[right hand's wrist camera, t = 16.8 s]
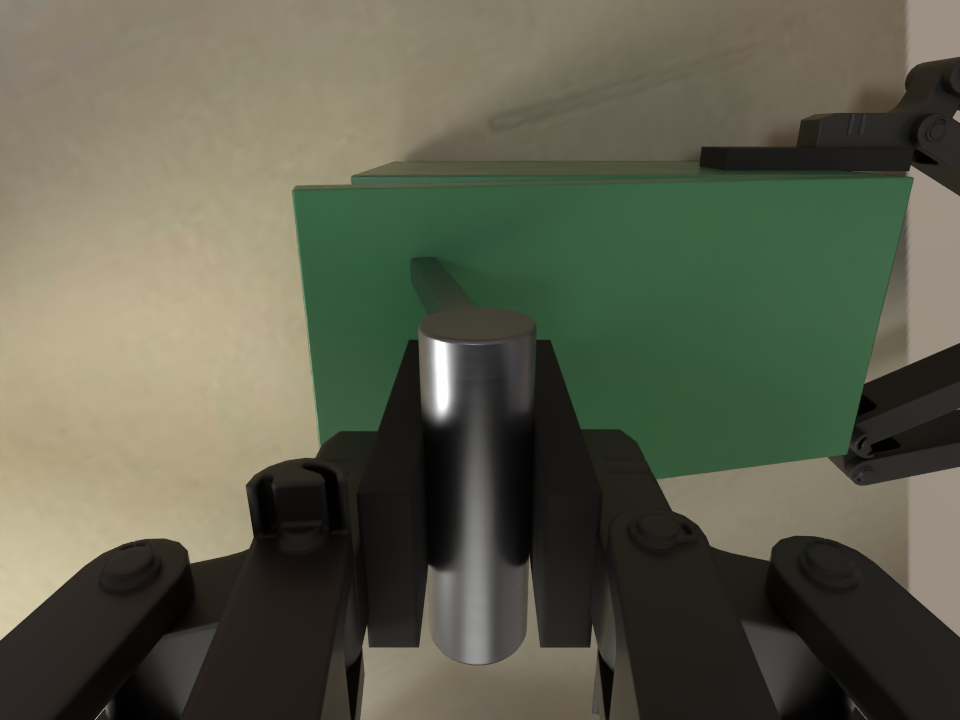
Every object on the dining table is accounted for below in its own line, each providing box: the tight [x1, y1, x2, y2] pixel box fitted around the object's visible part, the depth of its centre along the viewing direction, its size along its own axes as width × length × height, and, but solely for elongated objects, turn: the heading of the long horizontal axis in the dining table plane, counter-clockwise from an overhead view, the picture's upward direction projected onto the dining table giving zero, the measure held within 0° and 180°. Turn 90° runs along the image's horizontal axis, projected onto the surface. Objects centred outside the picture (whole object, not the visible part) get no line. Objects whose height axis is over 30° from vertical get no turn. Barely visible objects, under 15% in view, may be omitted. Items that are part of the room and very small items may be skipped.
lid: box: [292, 175, 914, 665], centre depth 15 cm, size 18×9×8 cm, turn 90°
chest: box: [351, 161, 879, 185], centre depth 25 cm, size 17×9×10 cm, turn 90°
